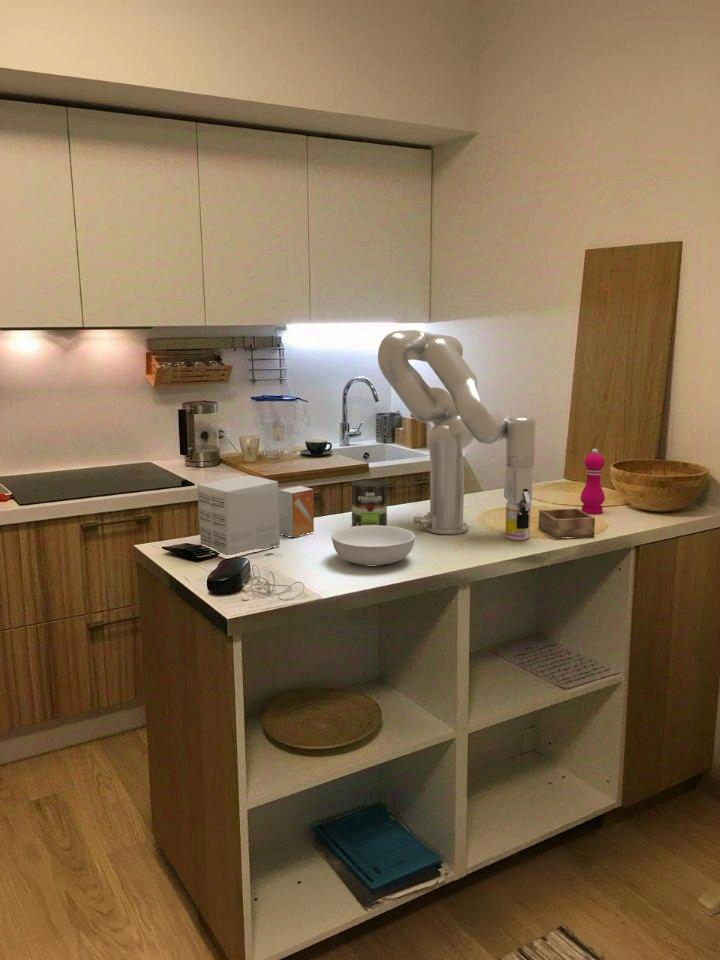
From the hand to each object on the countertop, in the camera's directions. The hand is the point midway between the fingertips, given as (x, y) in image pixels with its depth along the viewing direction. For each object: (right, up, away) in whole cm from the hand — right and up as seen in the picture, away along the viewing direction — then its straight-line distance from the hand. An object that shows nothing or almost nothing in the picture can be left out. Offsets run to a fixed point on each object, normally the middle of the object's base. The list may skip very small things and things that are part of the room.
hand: (517, 524), depth 222 cm
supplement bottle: (0, -4, +1) cm, 4 cm away
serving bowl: (-40, -8, -19) cm, 45 cm away
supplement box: (-76, -6, -8) cm, 76 cm away
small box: (-62, -3, +6) cm, 62 cm away
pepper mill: (+29, +2, +29) cm, 41 cm away
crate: (+14, -3, +5) cm, 16 cm away
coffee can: (-41, -2, +9) cm, 42 cm away
